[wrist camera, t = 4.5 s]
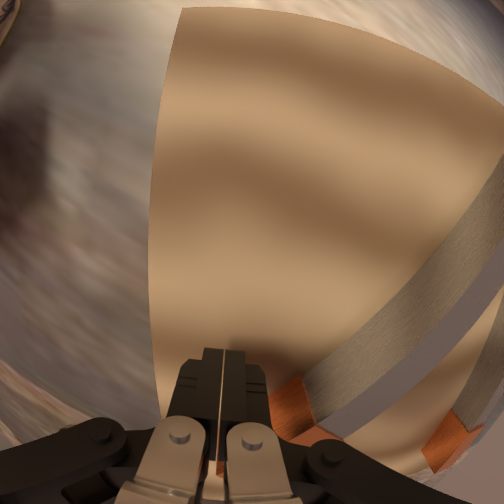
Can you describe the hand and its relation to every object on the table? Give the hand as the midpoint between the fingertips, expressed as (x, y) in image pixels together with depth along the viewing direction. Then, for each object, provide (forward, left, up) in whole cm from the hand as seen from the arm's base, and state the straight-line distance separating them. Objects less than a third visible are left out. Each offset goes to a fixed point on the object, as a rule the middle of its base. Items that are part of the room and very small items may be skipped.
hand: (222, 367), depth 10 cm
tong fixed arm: (+2, +17, -1) cm, 17 cm away
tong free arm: (-3, +9, -1) cm, 9 cm away
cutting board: (+1, +9, -2) cm, 9 cm away
